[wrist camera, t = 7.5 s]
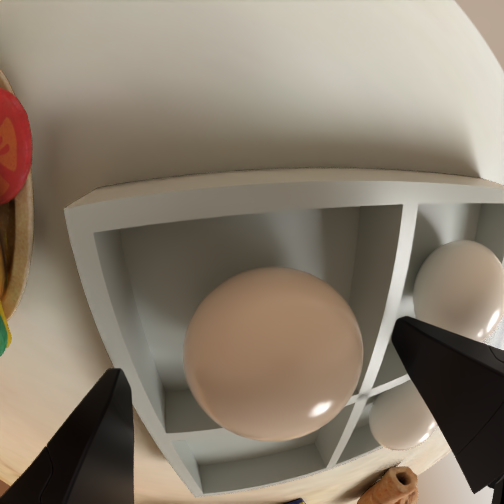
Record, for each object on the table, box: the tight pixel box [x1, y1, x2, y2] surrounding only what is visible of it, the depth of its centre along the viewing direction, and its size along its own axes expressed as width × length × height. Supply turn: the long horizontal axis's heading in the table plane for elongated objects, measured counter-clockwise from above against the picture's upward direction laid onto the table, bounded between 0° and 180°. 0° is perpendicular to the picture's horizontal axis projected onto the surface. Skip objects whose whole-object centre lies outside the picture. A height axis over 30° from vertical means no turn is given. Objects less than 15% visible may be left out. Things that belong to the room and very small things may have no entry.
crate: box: [63, 168, 504, 497], centre depth 12 cm, size 19×19×3 cm
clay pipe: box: [357, 467, 418, 504], centre depth 31 cm, size 19×11×15 cm
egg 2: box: [413, 240, 504, 342], centre depth 10 cm, size 5×5×5 cm
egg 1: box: [369, 380, 438, 450], centre depth 14 cm, size 5×5×5 cm
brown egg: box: [183, 266, 364, 442], centre depth 8 cm, size 5×5×5 cm
